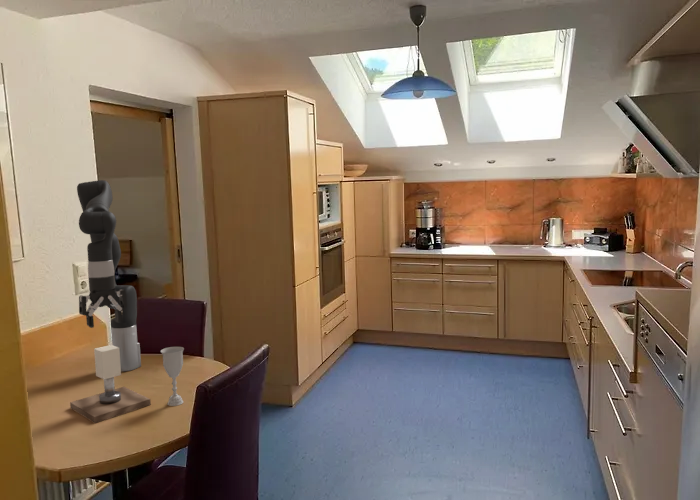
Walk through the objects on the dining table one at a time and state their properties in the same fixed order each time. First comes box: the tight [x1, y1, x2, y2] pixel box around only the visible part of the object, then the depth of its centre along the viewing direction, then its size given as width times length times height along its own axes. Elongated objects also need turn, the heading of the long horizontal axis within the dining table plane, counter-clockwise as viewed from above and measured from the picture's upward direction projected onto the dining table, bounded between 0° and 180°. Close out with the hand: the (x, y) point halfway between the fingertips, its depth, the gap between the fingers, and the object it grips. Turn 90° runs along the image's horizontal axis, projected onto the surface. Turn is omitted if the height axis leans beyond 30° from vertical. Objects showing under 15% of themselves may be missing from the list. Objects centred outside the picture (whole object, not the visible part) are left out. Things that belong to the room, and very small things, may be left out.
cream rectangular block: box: [93, 344, 122, 380], centre depth 174 cm, size 6×6×9 cm
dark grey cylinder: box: [99, 377, 121, 404], centre depth 175 cm, size 6×6×10 cm
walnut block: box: [69, 386, 151, 424], centre depth 176 cm, size 18×18×2 cm
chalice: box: [160, 346, 185, 407], centre depth 177 cm, size 7×7×18 cm
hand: (104, 324), depth 173 cm, fingers open, 8 cm apart
